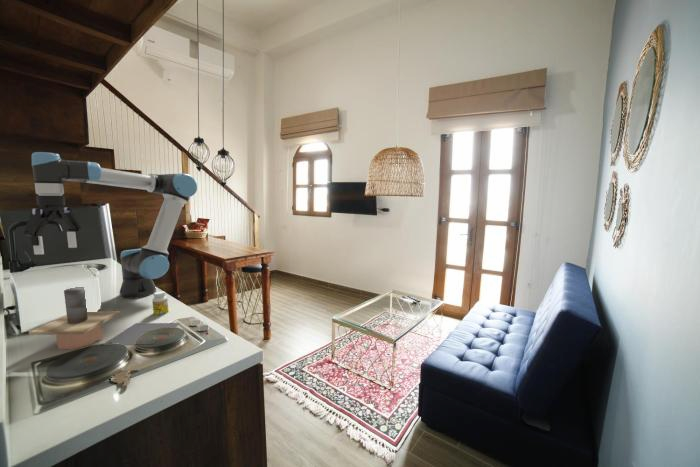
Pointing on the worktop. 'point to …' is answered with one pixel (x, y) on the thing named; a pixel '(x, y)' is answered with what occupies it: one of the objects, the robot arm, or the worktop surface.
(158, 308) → the supplement bottle
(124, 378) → the jawbone
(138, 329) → the rubber mat
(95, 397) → the worktop surface
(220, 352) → the worktop surface
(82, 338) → the terracotta bowl
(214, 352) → the worktop surface
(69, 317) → the oak lid
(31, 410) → the worktop surface
